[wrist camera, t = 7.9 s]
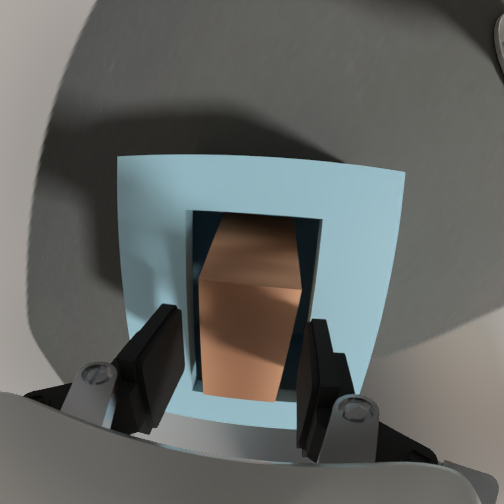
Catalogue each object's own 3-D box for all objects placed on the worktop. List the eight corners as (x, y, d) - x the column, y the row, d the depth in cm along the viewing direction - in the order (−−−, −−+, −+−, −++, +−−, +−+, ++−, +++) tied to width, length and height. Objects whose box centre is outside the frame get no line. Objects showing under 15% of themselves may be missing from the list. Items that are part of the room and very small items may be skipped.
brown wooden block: (293, 218, 15) (301, 290, 10) (276, 321, 19) (274, 402, 14) (224, 211, 16) (198, 278, 10) (220, 316, 19) (203, 394, 14)
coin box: (352, 167, 21) (405, 171, 11) (329, 340, 25) (345, 430, 15) (187, 157, 22) (117, 156, 12) (188, 327, 26) (143, 406, 16)
